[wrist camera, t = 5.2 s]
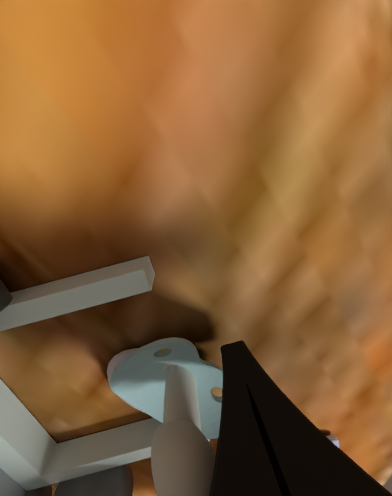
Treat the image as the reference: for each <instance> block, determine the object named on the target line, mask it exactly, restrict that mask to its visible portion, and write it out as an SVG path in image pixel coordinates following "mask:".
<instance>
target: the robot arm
mask: <svg viewBox="0 0 392 496" xmlns="http://www.w3.org/2000/svg"><path fill="white" fill-rule="evenodd" d="M221 353H222V364H223V390H222V406H221V419H220V428H219V437H218V444H217V452H216V458H215V464H214V470H213V477H212V482H211V488H210V493H209V496H392V494H391V493H390V492H389V491H388V490H386V489H385V488H384V487H383V486H382V485H380V484H379V483H378V482H377V481H376V480H375V479H373V478H372V477H371V476H370V475H369V474H367V473H366V472H365V471H364V470H363V469H362V468H361V467H360V466H358V465H357V464H356V463H355V462H354V461H353V460H352V459H351V458H349V457H348V456H347V455H346V454H345V453H344V452H343V451H342V450H340V449H339V441H338V439H337V437H336V436H335V435H328V436H325V435H324V434H323V433H322V432H321V431H320V430H319V429H318V428H317V427H316V426H315V425H314V424H313V423H312V422H311V421H310V420H309V419H308V418H307V417H306V416H305V415H304V414H303V413H302V412H301V411H300V410H299V409H298V408H297V407H296V406H295V405H294V404H293V403H292V402H291V401H290V400H289V399H288V397H287V396H286V395H285V394H284V393H283V392H282V391H281V390H280V389H279V387H278V386H277V385H276V384H275V383H274V382H273V380H272V379H271V378H270V377H269V376H268V374H267V373H266V372H265V371H264V370H263V368H262V367H261V366H260V364H259V363H258V362H257V360H256V359H255V358H254V356H253V355H252V354H251V352H250V351H249V349H248V347H247V346H246V344H245V342H244V341H242V340H241V341H238V342H234V343H230V344H226V345H223V346H222V347H221Z"/></svg>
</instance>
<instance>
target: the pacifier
mask: <svg viewBox="0 0 392 496" xmlns="http://www.w3.org/2000/svg"><path fill="white" fill-rule="evenodd" d="M107 376H108V381H109V386H110V388H111V390H112V391H113V392H114V393H115V394H117V395H118V396H119V397H120V398H121V399H122V400H123V401H125V402H126V403H128V404H129V405H130V406H132V407H133V408H135V409H137V410H140V411H142V412H144V413H147V414H148V415H150V416H152V417H153V418H155V419H156V420H158V421H160V422H162V423H163V424H161V425H160V426H159V427H158V428H157V429H156V431H155V433H154V436H153V440H152V446H151V467H152V475H153V481H154V485H155V489H156V493H157V496H209V493H210V488H211V482H212V477H213V470H214V464H215V458H216V457H215V454H214V452H213V449H212V447H211V445H210V443H209V442H208V440H207V439H214V438H218V437H219V428H220V419H221V406H222V397H217V396H215V395H213V394H212V393H211V389H212V388H214V387H218V388H221V389H223V369H222V368H221V367H219V366H217V365H215V364H213V363H211V362H207V361H204V360H202V359H201V358H199V354H198V351H197V349H196V347H195V346H194V345H193V343H191V342H190V341H188V340H186V339H183V338H177V337H173V338H165V339H160V340H157V341H154V342H152V343H149V344H147V345H145V346H142V347H141V348H133V349H128V350H124V351H122V352H120V353H118V354H116V355H115V356H114V357H113V358H112V359H111V361H110V362H109V363H108V368H107Z"/></svg>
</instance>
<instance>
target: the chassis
mask: <svg viewBox="0 0 392 496" xmlns="http://www.w3.org/2000/svg"><path fill="white" fill-rule="evenodd" d="M154 277H155V272H154V269H153V266H152V264H151V261H150V258H149V256H145V257H141V258H138V259H134V260H130V261H126V262H123V263H119V264H115V265H112V266H108V267H104V268H101V269H97V270H93V271H89V272H86V273H82V274H78V275H75V276H71V277H67V278H64V279H60V280H56V281H52V282H49V283H45V284H41V285H38V286H34V287H30V288H27V289H23V290H19V291H15V292H12V293H10V292H9V291H8V289H7V288H6V286H5V285H4V284H3V282H2V281H1V279H0V331H4V330H7V329H11V328H15V327H19V326H22V325H26V324H30V323H33V322H37V321H41V320H44V319H48V318H52V317H55V316H59V315H63V314H67V313H70V312H74V311H78V310H81V309H85V308H89V307H92V306H96V305H100V304H104V303H107V302H111V301H115V300H118V299H122V298H126V297H129V296H133V295H137V294H140V293H144V292H148V291H151V290H152V286H153V282H154ZM161 424H163V423H162V422H160V421H158V420H156V419H155V418H149V419H146V420H142V421H138V422H135V423H131V424H127V425H124V426H120V427H116V428H113V429H109V430H105V431H102V432H98V433H94V434H91V435H87V436H83V437H80V438H76V439H72V440H69V441H65V442H61V443H58V444H57V443H56V442H55V441H54V439H53V438H52V437H51V436H50V435H49V434H48V433H47V431H46V430H45V429H44V428H43V427H42V426H41V425H40V423H39V422H38V421H37V420H36V419H35V418H34V417H33V416H32V414H31V413H30V412H29V411H28V410H27V409H26V408H25V406H24V405H23V404H22V403H21V402H20V401H19V400H18V398H17V397H16V396H15V395H14V394H13V393H12V392H11V390H10V389H9V388H8V387H7V386H6V385H5V384H4V382H3V381H2V380H1V379H0V496H52V487H51V484H55V483H59V482H60V483H59V485H58V487H57V489H56V491H55V493H54V496H132V492H133V475H132V470H131V468H130V466H129V464H128V463H132V462H135V461H139V460H143V459H146V458H150V457H151V446H152V440H153V436H154V433H155V431H156V429H157V428H158V427H159V426H160V425H161ZM207 440H208V442H209V441H210V439H207Z"/></svg>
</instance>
